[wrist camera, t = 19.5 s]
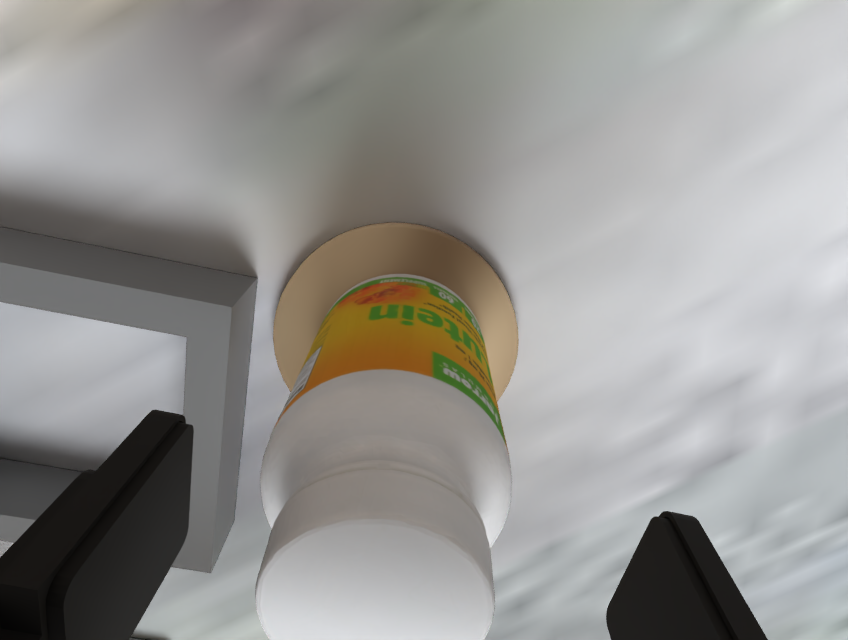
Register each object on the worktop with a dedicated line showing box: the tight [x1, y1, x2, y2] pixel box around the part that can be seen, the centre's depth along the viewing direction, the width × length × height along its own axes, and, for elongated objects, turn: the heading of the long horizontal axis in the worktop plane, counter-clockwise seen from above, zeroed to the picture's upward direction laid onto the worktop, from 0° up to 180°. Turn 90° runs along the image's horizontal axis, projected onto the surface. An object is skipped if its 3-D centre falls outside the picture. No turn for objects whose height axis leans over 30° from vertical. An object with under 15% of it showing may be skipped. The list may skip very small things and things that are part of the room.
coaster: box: [273, 222, 518, 401], centre depth 18 cm, size 8×8×1 cm
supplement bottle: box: [255, 274, 512, 640], centre depth 13 cm, size 5×5×10 cm
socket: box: [0, 227, 258, 573], centre depth 18 cm, size 10×10×2 cm
